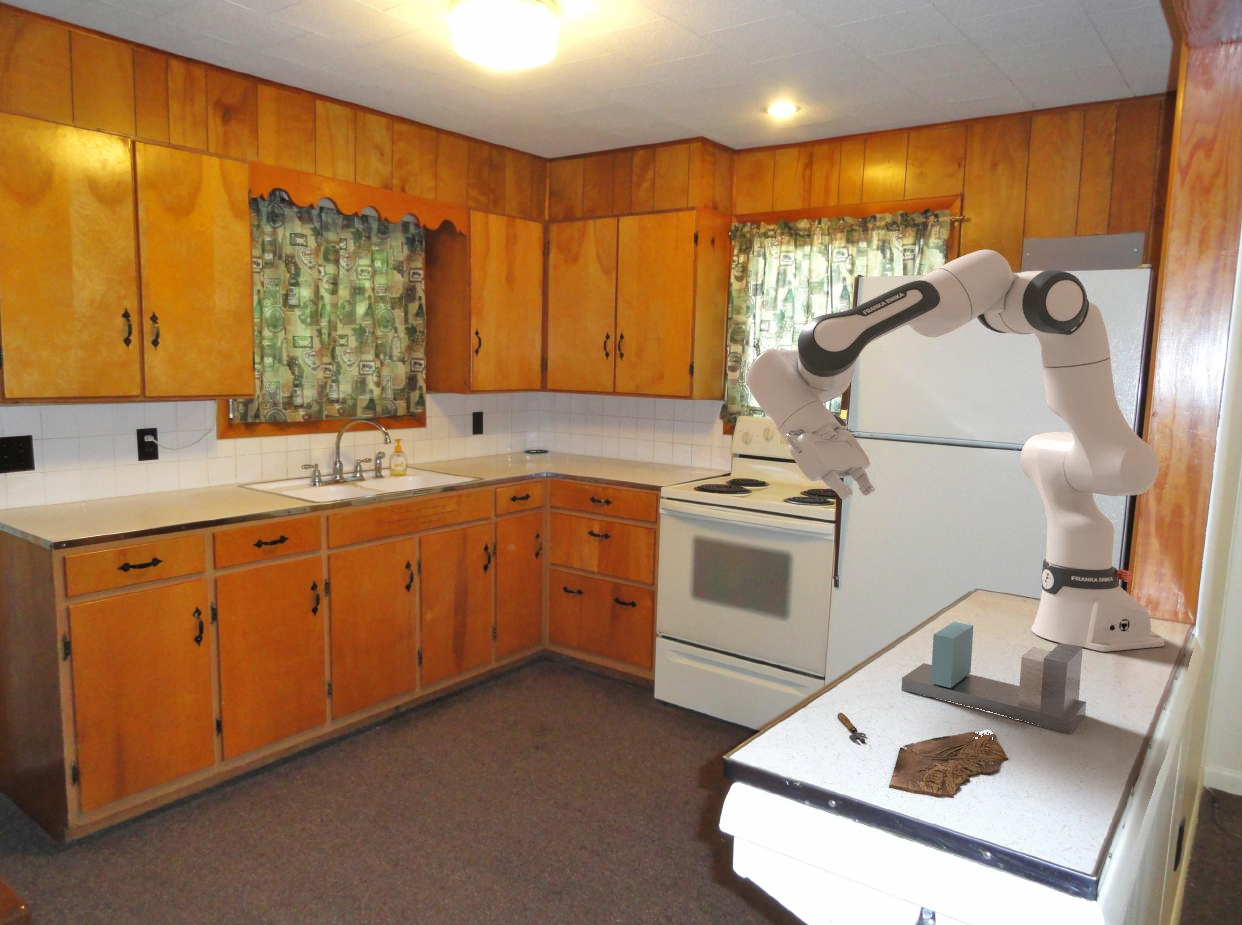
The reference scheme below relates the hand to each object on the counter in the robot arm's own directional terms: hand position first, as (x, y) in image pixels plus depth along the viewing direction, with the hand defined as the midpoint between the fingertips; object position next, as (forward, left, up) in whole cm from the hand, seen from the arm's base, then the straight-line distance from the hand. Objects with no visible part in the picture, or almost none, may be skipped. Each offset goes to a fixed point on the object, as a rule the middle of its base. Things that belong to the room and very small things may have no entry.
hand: (859, 495), depth 138 cm
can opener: (+9, +24, -30) cm, 40 cm away
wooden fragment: (-1, +33, -30) cm, 45 cm away
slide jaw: (-12, +11, -27) cm, 32 cm away
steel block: (-20, +20, -27) cm, 40 cm away
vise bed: (-16, +15, -29) cm, 37 cm away
